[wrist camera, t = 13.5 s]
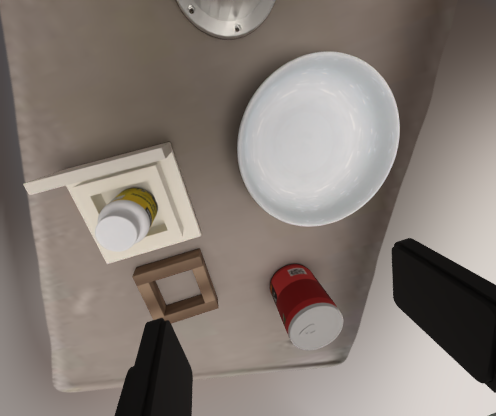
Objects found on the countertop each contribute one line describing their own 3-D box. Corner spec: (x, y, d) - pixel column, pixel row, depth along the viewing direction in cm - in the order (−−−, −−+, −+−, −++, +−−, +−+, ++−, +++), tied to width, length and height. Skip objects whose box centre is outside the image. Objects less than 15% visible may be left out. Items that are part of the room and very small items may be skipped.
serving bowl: (230, 59, 32) (238, 43, 26) (378, 68, 36) (417, 57, 29) (231, 213, 39) (237, 231, 32) (355, 208, 42) (382, 223, 36)
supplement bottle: (166, 210, 36) (155, 242, 26) (133, 230, 36) (110, 267, 26) (142, 178, 34) (121, 199, 24) (107, 198, 34) (73, 227, 24)
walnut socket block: (136, 267, 39) (132, 276, 36) (199, 248, 40) (199, 256, 37) (159, 316, 42) (157, 327, 40) (217, 297, 43) (218, 308, 41)
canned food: (260, 284, 44) (278, 333, 34) (294, 253, 43) (323, 295, 33) (286, 307, 47) (311, 359, 36) (319, 279, 46) (354, 324, 36)
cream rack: (63, 169, 33) (23, 184, 25) (169, 141, 34) (161, 147, 26) (109, 259, 38) (87, 293, 30) (201, 232, 39) (201, 259, 31)
